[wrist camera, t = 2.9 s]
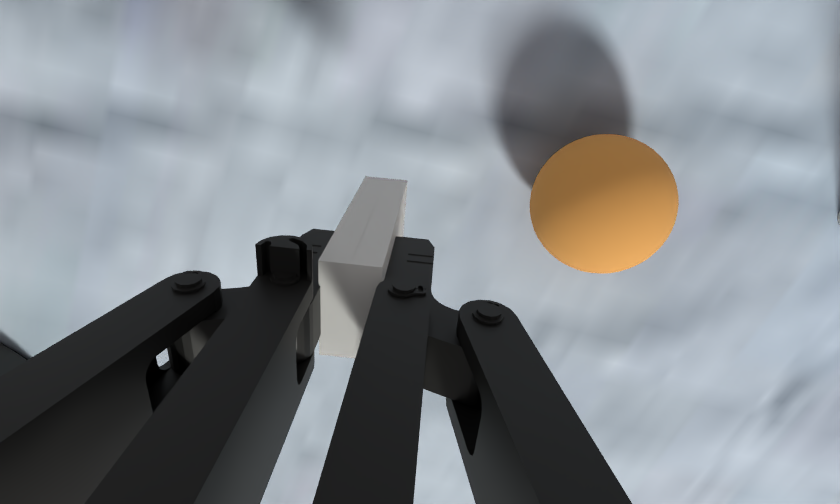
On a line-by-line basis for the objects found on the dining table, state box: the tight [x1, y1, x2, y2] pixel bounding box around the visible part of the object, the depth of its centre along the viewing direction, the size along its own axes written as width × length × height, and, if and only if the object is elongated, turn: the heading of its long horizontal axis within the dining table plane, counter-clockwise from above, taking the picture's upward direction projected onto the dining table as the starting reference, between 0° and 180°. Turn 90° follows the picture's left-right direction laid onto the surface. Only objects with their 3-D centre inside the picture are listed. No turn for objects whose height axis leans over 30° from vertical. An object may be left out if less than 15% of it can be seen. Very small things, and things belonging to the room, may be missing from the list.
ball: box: [530, 134, 678, 273], centre depth 21 cm, size 6×6×6 cm
